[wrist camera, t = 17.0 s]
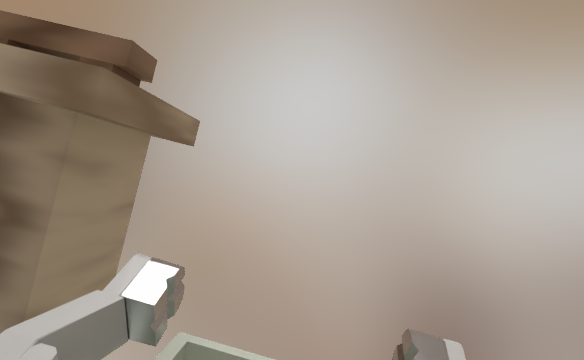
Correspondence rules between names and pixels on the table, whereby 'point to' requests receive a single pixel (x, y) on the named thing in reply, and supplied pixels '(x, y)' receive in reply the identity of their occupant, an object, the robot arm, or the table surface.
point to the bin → (203, 350)
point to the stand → (70, 158)
